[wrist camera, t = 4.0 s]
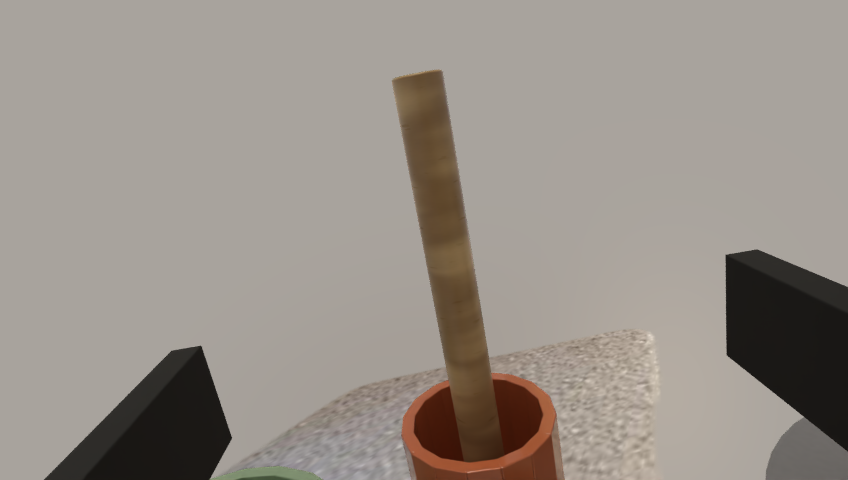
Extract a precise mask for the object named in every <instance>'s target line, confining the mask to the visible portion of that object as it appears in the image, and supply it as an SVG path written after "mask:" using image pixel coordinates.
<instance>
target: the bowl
mask: <svg viewBox="0 0 848 480" xmlns="http://www.w3.org/2000/svg"><path fill="white" fill-rule="evenodd" d="M209 480H323V479H321V478H320V477H318V476H317V475H315V474H314V473H311V472H307V471H302V470H297V469H292V468H287V467H282V466H273V467H260V468H248V469H243V470H240V471H236V472H233V473H229V474H226V475H222V476H219V477H216V478H212V479H209Z"/></svg>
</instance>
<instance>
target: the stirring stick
mask: <svg viewBox="0 0 848 480" xmlns="http://www.w3.org/2000/svg"><path fill="white" fill-rule="evenodd" d="M392 84H393V90H394V95H395V100H396V105H397V111H398V116H399V121H400V127H401V132H402V137H403V142H404V147H405V153H406V158H407V163H408V169H409V174H410V179H411V185H412V190H413V195H414V201H415V206H416V211H417V216H418V222H419V227H420V232H421V237H422V242H423V248H424V253H425V258H426V264H427V268H428V274H429V280H430V285H431V290H432V295H433V301H434V306H435V311H436V317H437V322H438V327H439V332H440V338H441V343H442V348H443V353H444V359H445V364H446V369H447V375H448V380H449V385H450V390H451V396H452V401H453V406H454V411H455V417H456V422H457V427H458V433H459V438H460V443H461V448H462V454H463V459H464V462H468V463H469V462H477V461H485V460H492V459H498V458H500V457H502V456H504V455H505V454H504V448H503V442H502V436H501V429H500V423H499V417H498V411H497V405H496V398H495V392H494V386H493V380H492V374H491V368H490V361H489V356H488V349H487V343H486V337H485V330H484V324H483V318H482V312H481V306H480V300H479V294H478V287H477V281H476V275H475V269H474V262H473V257H472V251H471V244H470V238H469V232H468V226H467V219H466V213H465V207H464V201H463V194H462V189H461V182H460V176H459V170H458V163H457V157H456V151H455V145H454V139H453V132H452V127H451V121H450V114H449V108H448V102H447V96H446V90H445V83H444V77H443V72H442V70H432V71H425V72H419V73H414V74H409V75H404V76H400V77H397V78H394V79H393V80H392Z"/></svg>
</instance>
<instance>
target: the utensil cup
mask: <svg viewBox="0 0 848 480" xmlns="http://www.w3.org/2000/svg"><path fill="white" fill-rule="evenodd" d="M491 374H492V380H493V386H494V392H495V398H496V405H497V411H498V417H499V423H500V429H501V436H502V442H503V448H504V454H505V455H504V456H502V457H500V458H498V459H492V460H485V461H477V462H469V463H468V462H464V459H463V454H462V448H461V443H460V438H459V433H458V427H457V422H456V417H455V411H454V406H453V401H452V396H451V390H450V385H449V380H447V381H444V382H442V383H439V384H436V385H435V386H433V387H431V388H430V389H429V390H427V391H426V392H424V393H423V394H422V395H420V396H419V397H417V398H416V399H415V400H414V402H413V403H412V405H411V406H410V407H409V409H408V410H407V412H406V413H405V415H404V417H403V424H402V434H401V436H402V441H403V445H404V449H405V454H406V458H407V463H408V467H409V471H410V476H411V480H565V479H564V471H563V463H562V455H561V447H560V439H559V431H558V422H557V414H556V411H555V409H554V406H553V404H552V401H551V398H550V396H549V395H548V394H547V393H545V392H544V391H543V390H542V389H540V388H539V387H538V386H537V385H536V384H534V383H532V382H531V381H528V380H525V379H523V378H520V377H517V376H514V375H510V374H502V373H491Z"/></svg>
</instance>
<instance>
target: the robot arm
mask: <svg viewBox="0 0 848 480" xmlns="http://www.w3.org/2000/svg"><path fill="white" fill-rule="evenodd" d="M726 334H727V335H726V336H727V337H726V340H727V356H728V357H730V358H731V359H732V360H733V361H735V362H736V363H737V364H738V365H740V366H741V367H742V368H743V369H745V370H746V371H747V372H749V373H750V374H751V375H752V376H754V377H755V378H756V379H757V380H758V381H760V382H761V383H762V384H764V385H765V386H766V387H767V388H769V389H770V390H771V391H772V392H774V393H775V394H776V395H777V396H779V397H780V398H781V399H783V400H784V401H785V402H786V403H787V404H789V405H790V406H791V407H793V408H794V409H795V410H796V411H797V412H799V413H800V414H801V415H803V416H804V417H805V418H806V419H808V420H809V421H810V422H811V423H813V424H814V425H815V426H816V427H818V428H819V429H820V430H821V431H823V432H824V433H825V434H826V435H828V436H829V437H830V438H831V439H833V440H834V441H835V442H837V443H838V444H839V445H840V446H842V447H843V448H844V449H845V450H847V451H848V287H846V286H844V285H841V284H839V283H837V282H834V281H832V280H829V279H827V278H825V277H822V276H820V275H817V274H815V273H813V272H810V271H808V270H805V269H803V268H801V267H798V266H796V265H793V264H791V263H788V262H786V261H784V260H781V259H779V258H776V257H774V256H772V255H769V254H767V253H764V252H762V251H759V250H752V251H745V252H740V253H734V254H729V255H726ZM231 439H232V437H231V434H230V431H229V428H228V425H227V422H226V419H225V416H224V413H223V410H222V407H221V404H220V401H219V398H218V395H217V392H216V389H215V386H214V383H213V380H212V377H211V374H210V371H209V368H208V365H207V362H206V359H205V356H204V353H203V350H202V347H201V346H197V347H191V348H186V349H179V350H174V351H171V352H170V353H169V354H168V355H167V356H166V357H165V358H164V359H163V360H162V361H161V362H160V363H159V364H158V365H157V366H156V367H155V368H154V369H153V370H152V371H151V372H150V373H149V374H148V375H147V376H146V377H145V378H144V379H143V380H142V381H141V382H140V383H139V384H138V385H137V386H136V387H135V388H134V389H133V390H132V391H131V392H130V394H128V396H127V397H125V399H124V400H122V401H121V403H119V405H118V406H117V407H116V408H115V409H114V410H113V411H112V412H111V413H110V414H109V415H108V416H107V417H106V418H105V419H104V420H103V421H102V422H101V423H100V424H99V425H98V426H97V427H96V428H95V429H94V430H93V431H92V432H91V433H90V434H89V435H88V436H87V437H86V438H85V439H84V440H83V441H82V442H81V443H80V444H79V445H78V446H77V447H76V448H75V449H74V450H73V451H72V452H71V453H70V454H69V455H68V456H67V457H66V458H65V459H64V460H63V461H62V462H61V463H60V464H59V465H58V467H56V468H55V469H54V470H53V471H52V473H50V474H49V475H48V476H47V477H46V478H45V479H44V480H209V479H210V478H211V475H212V474H213V472H214V470H215V468H216V466H217V465H218V463H219V461H220V459H221V457H222V455H223V453H224V452H225V450H226V448H227V446H228V445H229V443H230V441H231Z"/></svg>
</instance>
